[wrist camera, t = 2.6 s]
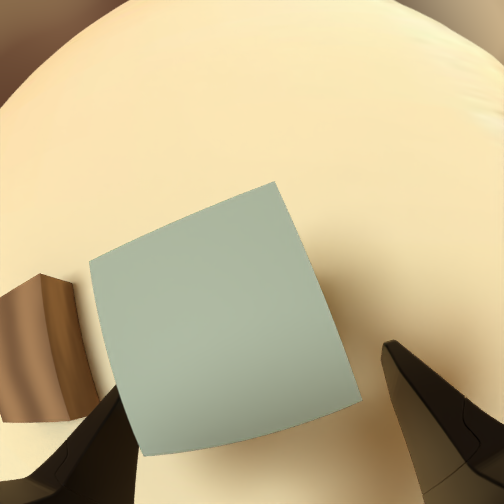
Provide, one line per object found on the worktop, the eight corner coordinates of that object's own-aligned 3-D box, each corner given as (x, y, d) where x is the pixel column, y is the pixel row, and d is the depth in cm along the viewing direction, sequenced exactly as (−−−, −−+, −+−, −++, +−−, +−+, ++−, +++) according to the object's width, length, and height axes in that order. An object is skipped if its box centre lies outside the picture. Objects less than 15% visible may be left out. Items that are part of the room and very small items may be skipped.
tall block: (243, 379, 17) (143, 456, 5) (218, 308, 19) (88, 261, 7) (318, 353, 17) (362, 400, 5) (290, 281, 19) (274, 181, 6)
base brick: (31, 417, 19) (3, 422, 15) (9, 315, 22) (-19, 309, 18) (102, 411, 18) (70, 420, 14) (72, 283, 21) (40, 273, 18)
